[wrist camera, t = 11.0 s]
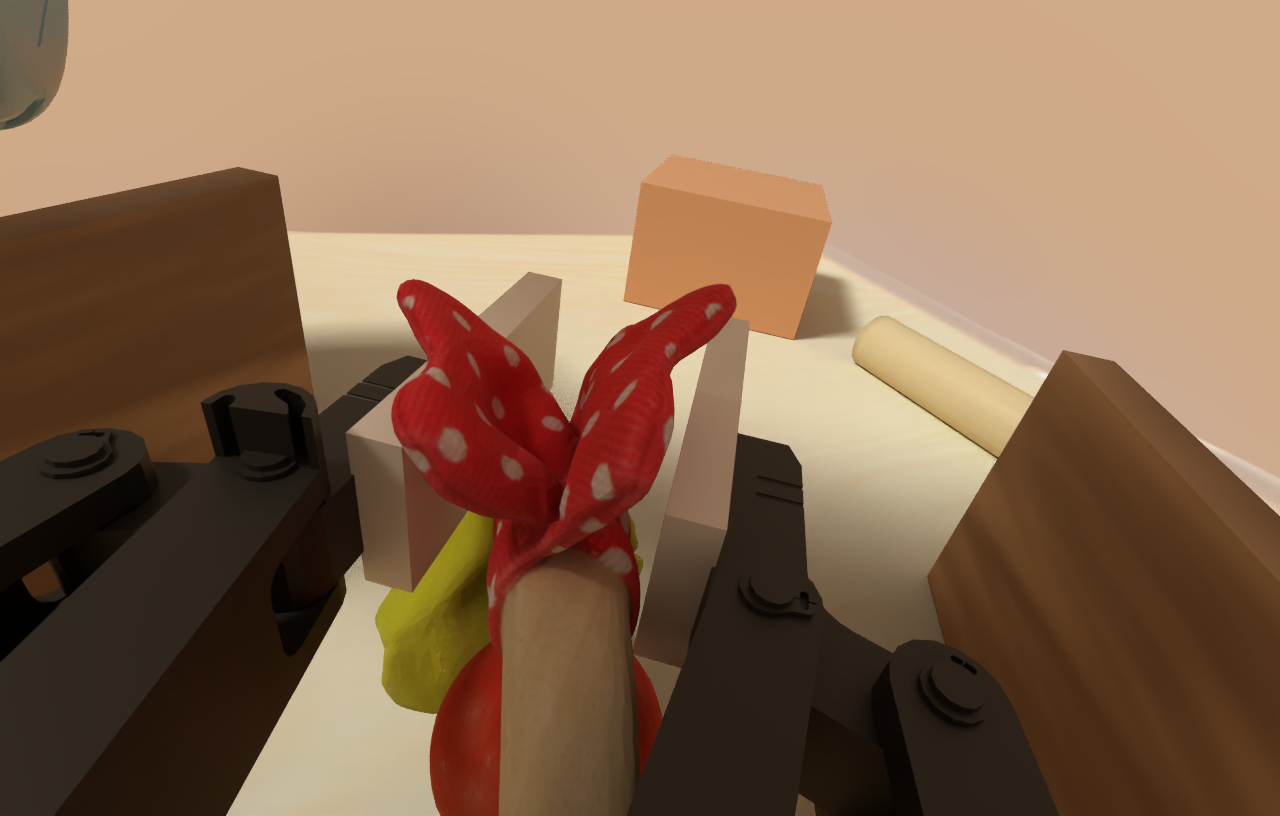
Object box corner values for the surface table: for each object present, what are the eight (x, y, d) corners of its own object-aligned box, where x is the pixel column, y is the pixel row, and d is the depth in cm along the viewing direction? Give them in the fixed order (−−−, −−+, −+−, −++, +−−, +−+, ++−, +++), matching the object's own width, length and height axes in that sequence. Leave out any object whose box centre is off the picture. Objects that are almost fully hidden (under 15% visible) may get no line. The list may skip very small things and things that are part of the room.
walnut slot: (-256, 795, 12) (-796, 386, 7) (285, 408, 26) (238, 166, 21) (1216, 1321, 10) (2113, 1300, 4) (966, 586, 23) (1115, 361, 18)
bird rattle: (664, 892, 13) (617, 503, 17) (1246, 1131, 4) (855, 219, 9) (349, 973, 11) (385, 503, 15) (180, 1841, 2) (383, 119, 6)
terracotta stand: (623, 300, 42) (641, 182, 37) (654, 252, 52) (671, 154, 48) (793, 339, 41) (832, 222, 36) (791, 282, 51) (821, 185, 46)
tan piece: (1552, 857, 18) (1686, 797, 16) (843, 368, 39) (863, 316, 37) (1568, 800, 20) (1690, 740, 18) (881, 361, 41) (902, 312, 39)
